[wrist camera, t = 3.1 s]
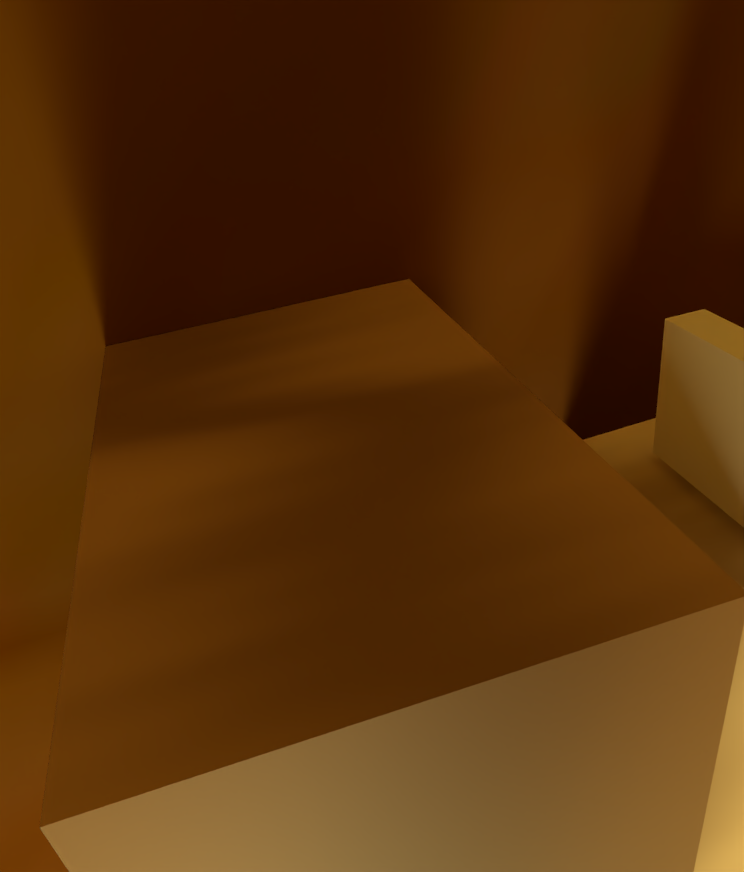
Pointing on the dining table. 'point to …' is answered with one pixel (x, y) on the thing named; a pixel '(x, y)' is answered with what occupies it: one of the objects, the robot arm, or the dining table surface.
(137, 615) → the walnut block
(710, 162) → the dining table surface
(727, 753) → the beech block
